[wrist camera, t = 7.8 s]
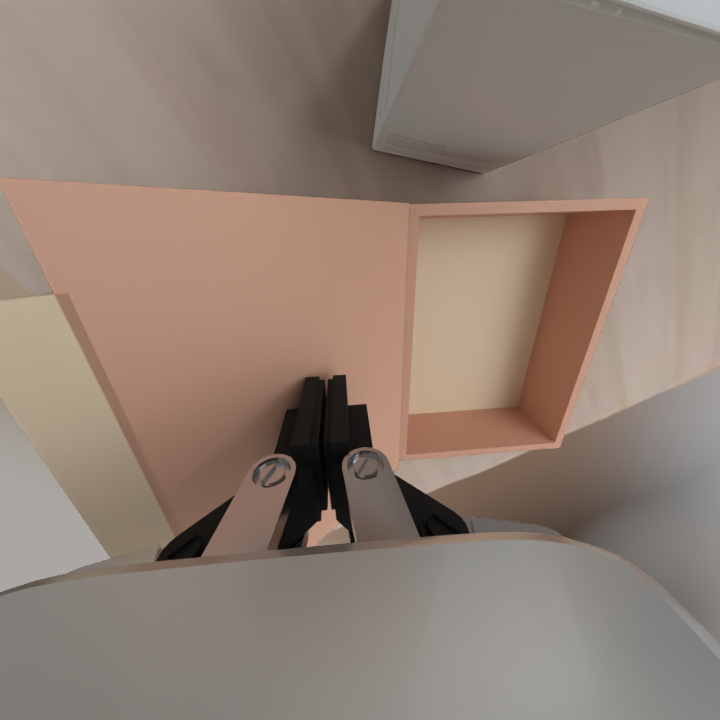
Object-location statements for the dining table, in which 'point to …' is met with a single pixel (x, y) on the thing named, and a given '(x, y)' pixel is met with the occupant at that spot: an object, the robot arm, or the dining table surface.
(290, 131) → the dining table surface
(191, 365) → the lid
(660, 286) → the dining table surface
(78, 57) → the dining table surface
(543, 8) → the supplement box
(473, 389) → the box
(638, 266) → the dining table surface
